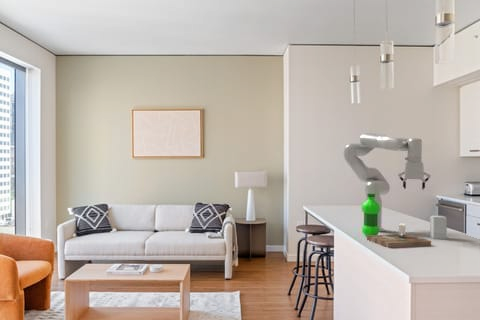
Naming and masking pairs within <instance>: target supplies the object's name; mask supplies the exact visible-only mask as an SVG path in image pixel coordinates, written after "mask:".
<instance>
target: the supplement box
mask: <svg viewBox="0 0 480 320" xmlns="http://www.w3.org/2000/svg"><path fill="white" fill-rule="evenodd" d="M429 217H430V220H429V225H430V226H429V236H430V238H432V239H436V240H447V238H448V236H447V232H448V231H447V230H448V227H447V226H448V224H447V223H448V217H446V216H444V215H430V216H429Z"/></svg>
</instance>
